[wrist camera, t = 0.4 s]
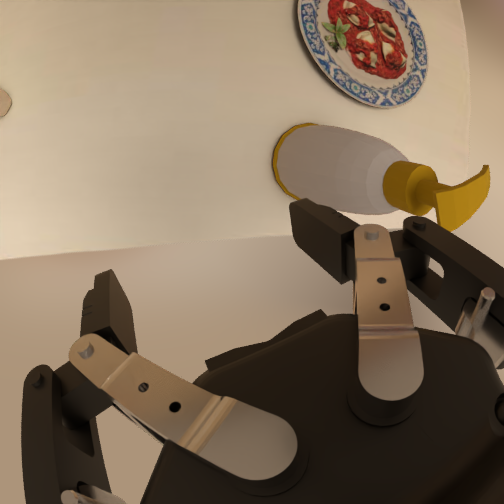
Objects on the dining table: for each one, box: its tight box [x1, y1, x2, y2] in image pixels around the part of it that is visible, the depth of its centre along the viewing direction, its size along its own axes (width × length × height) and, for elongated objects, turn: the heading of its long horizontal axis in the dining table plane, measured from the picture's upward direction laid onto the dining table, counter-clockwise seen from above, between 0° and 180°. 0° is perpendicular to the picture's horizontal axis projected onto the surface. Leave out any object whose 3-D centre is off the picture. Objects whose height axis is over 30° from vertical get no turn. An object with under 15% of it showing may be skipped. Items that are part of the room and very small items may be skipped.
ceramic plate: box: [298, 0, 428, 108], centre depth 34 cm, size 26×26×3 cm
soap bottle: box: [273, 123, 490, 232], centre depth 29 cm, size 11×12×26 cm
